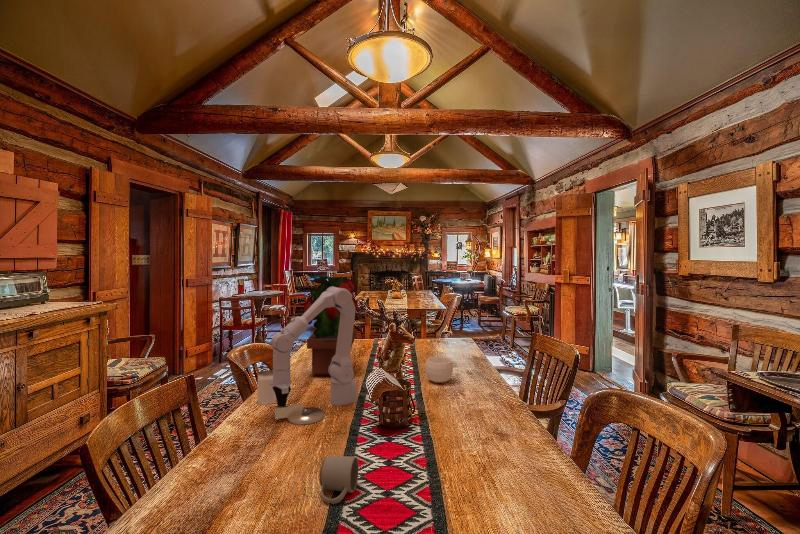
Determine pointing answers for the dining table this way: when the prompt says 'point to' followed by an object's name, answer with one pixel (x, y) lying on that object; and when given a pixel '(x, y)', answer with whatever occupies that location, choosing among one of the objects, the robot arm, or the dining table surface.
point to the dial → (299, 414)
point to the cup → (439, 369)
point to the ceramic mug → (338, 476)
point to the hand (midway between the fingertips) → (281, 407)
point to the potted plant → (326, 324)
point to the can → (265, 388)
